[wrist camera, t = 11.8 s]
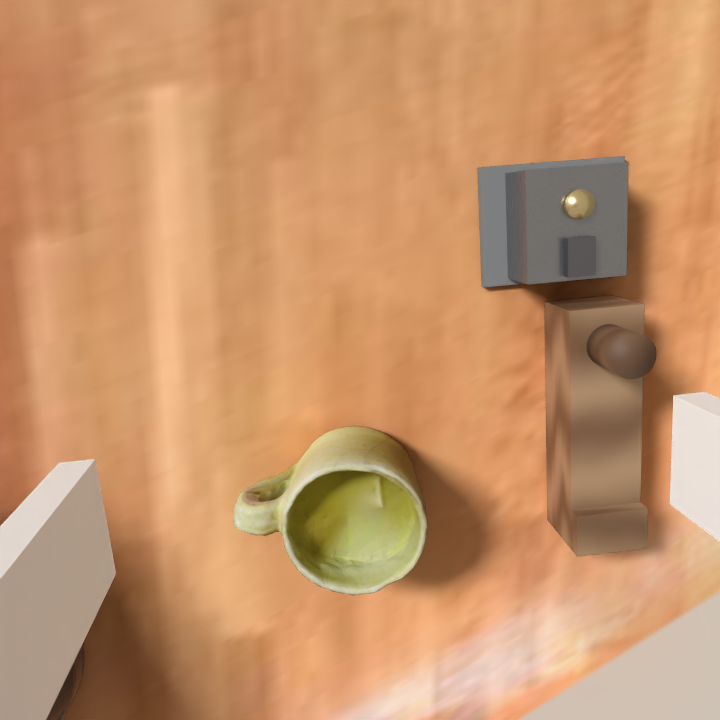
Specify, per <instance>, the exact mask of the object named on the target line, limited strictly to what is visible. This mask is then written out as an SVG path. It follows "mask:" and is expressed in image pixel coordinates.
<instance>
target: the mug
mask: <svg viewBox="0 0 720 720" xmlns="http://www.w3.org/2000/svg"><path fill="white" fill-rule="evenodd" d="M233 522H234V525H235V526H236V527H237V528H238V529H239V530H241V531H244V532H247V533H250V534H254V535H264V536H266V535H269V534H272V533H274V532H280V533H281V535H282V537H283V541H284V546H285V549H286V552H287V554H288V556H289V558H290V560H291V561H292V563H293V564H294V565H295V567H296V568H297V569H298V570H299V571H300V573H301V574H302V575H303V576H305V577H306V578H307V579H308V580H310V581H311V582H313V583H315V584H316V585H318V586H320V587H323V588H326V589H328V590H331V591H333V592H338V593H342V594H349V595H361V594H369V593H374V592H377V591H379V590H381V589H382V588H383V587H385V586H386V585H388V584H390V583H392V582H395V581H397V580H400V579H402V578H403V577H404V576H405V575H406V574H407V573H408V572H410V571H411V570H412V569H413V568H414V566H415V564H416V563H417V561H418V559H419V557H420V556H421V554H422V552H423V548H424V544H425V539H426V535H427V526H428V523H427V514H426V506H425V503H424V499H423V495H422V491H421V488H420V486H419V483H418V481H417V477H416V473H415V469H414V466H413V464H412V462H411V459H410V457H409V456H408V454H407V452H406V451H405V449H404V448H403V447H402V446H401V445H400V444H399V443H398V442H397V441H395V440H394V439H393V438H391V437H390V436H388V435H387V434H385V433H383V432H381V431H378V430H375V429H372V428H368V427H362V426H349V427H343V428H337V429H334V430H331V431H329V432H327V433H325V434H323V435H322V436H320V437H319V438H318V439H317V440H315V441H314V442H313V443H312V445H311V446H310V447H309V449H308V450H307V451H306V452H305V454H304V455H303V456H302V458H301V459H300V460H299V462H297V463H296V464H295V465H293V466H291V467H289V468H288V469H287V470H286V471H284V472H282V473H280V474H278V475H277V476H276V477H270V478H267V479H265V480H263V481H260V482H259V483H257V484H256V485H254V486H252V487H249V488H247V489H246V490H244V491H242V492H241V493H240V495H239V497H238V500H237V503H236V504H235V507H234V516H233Z"/></svg>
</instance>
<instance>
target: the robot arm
mask: <svg viewBox="0 0 720 720" xmlns="http://www.w3.org/2000/svg"><path fill="white" fill-rule="evenodd" d="M670 505H672V506H673V507H674V508H676V509H677V510H678V511H679V512H681V513H682V514H683V515H685V516H686V517H687V518H689V519H690V520H691V521H693V522H694V523H695V524H697V525H698V526H699V527H701V528H702V529H703V530H704V531H706V532H707V533H708V534H710V535H711V536H712V537H714V538H715V539H716V540H718V541H719V542H720V398H718V397H715V396H713V395H711V394H708V393H706V392H699V393H690V394H681V395H673V424H672V456H671V487H670ZM115 575H116V570H115V564H114V559H113V553H112V548H111V542H110V537H109V531H108V525H107V520H106V514H105V509H104V503H103V498H102V492H101V487H100V481H99V476H98V470H97V465H96V459H90V460H81V461H72V462H63V463H58V464H57V465H56V467H55V468H54V469H53V470H52V471H51V472H50V473H49V474H48V475H47V476H46V477H45V478H44V480H43V481H42V482H41V483H40V484H39V485H38V486H37V487H36V488H35V489H34V490H33V491H32V492H31V494H30V495H29V496H28V497H27V498H26V499H25V500H24V501H23V502H22V503H21V504H20V505H19V507H18V508H17V509H16V510H15V511H14V512H13V513H12V514H11V515H10V516H9V517H8V518H7V520H6V521H5V522H4V523H3V524H2V525H1V526H0V720H62V719H63V718H64V716H65V714H66V713H67V711H68V709H69V707H70V704H71V702H72V700H73V698H74V696H75V694H76V691H77V689H78V687H79V684H80V681H81V678H82V673H83V665H84V654H83V646H82V644H83V642H84V640H85V638H86V636H87V633H88V631H89V629H90V627H91V625H92V623H93V621H94V619H95V617H96V615H97V613H98V611H99V608H100V606H101V604H102V602H103V600H104V598H105V596H106V594H107V592H108V590H109V588H110V586H111V583H112V581H113V579H114V577H115Z"/></svg>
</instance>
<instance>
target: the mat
mask: <svg viewBox="0 0 720 720" xmlns="http://www.w3.org/2000/svg"><path fill="white" fill-rule="evenodd" d="M618 162H625V156H619V157H607V158H594V159H581V160H568V161H556V162H543V163H530V164H517V165H504V166H492V167H480V168H477V169H478V196H479V224H480V251H481V279H482V287H494V286H505V285H515V284H525V283H521V282H518V281H515V280H512V279H509V278H508V264H507V227H506V190H505V173H511V172H516V171H522V170H529V169H542V168H555V167H567V166H580V165H593V164H605V163H618Z"/></svg>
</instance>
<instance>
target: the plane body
mask: <svg viewBox="0 0 720 720" xmlns="http://www.w3.org/2000/svg"><path fill="white" fill-rule="evenodd" d="M544 307H545V378H546V448H547V518H548V521H549V522H550V524H551V525H552V526H553V527H554V529H555V530H556V531H557V532H558V533H559V535H560V536H561V537H562V538H563V540H564V541H565V542H566V543H567V545H568V546H569V547H570V548H571V549H572V551H573V552H574V553H575V554H576V556H577V557H579V556H587V555H595V554H603V553H611V552H619V551H627V550H635V549H643V548H647V525H648V508H647V507H646V506H644V505H643V504H642V503H641V502H640V498H641V452H642V405H643V376H644V375H645V374H647V373H648V372H649V371H650V370H651V368H652V367H653V365H654V363H655V360H656V348H655V345H654V343H653V342H652V341H651V340H650V339H649V338H648V337H646V336H644V312H645V304H643V303H639V302H635V301H632V300H628V299H624V298H620V297H617V296H613V295H610V296H599V297H589V298H578V299H568V300H557V301H547V302H544Z"/></svg>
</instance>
